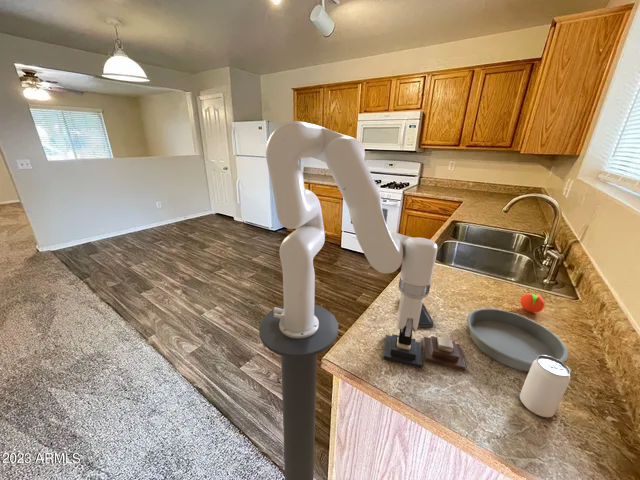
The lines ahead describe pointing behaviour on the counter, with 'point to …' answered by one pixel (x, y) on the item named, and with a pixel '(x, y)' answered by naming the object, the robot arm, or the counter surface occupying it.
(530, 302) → the tomato
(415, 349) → the keypad
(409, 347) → the key
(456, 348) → the keypad
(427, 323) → the phone
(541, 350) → the cake pan
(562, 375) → the can
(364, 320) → the counter surface
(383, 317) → the counter surface
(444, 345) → the key
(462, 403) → the counter surface
